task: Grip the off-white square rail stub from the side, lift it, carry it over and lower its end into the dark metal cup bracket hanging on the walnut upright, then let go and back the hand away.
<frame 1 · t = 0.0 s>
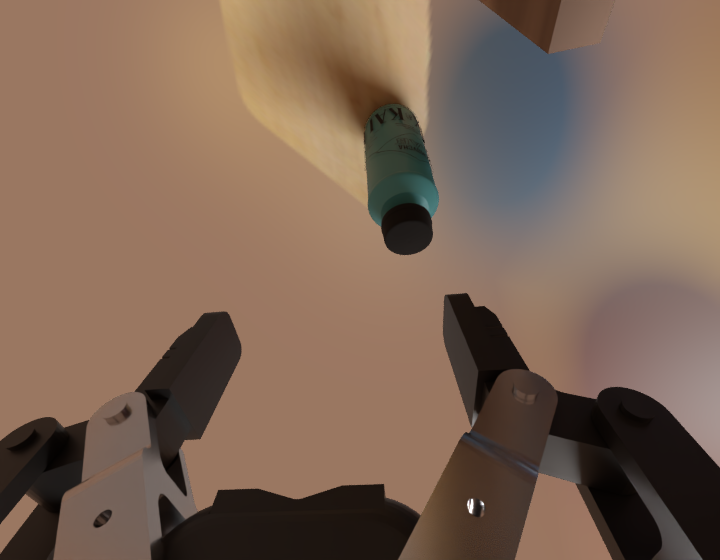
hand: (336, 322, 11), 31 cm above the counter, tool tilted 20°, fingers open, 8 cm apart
beverage bottle: (389, 123, 37), on the counter
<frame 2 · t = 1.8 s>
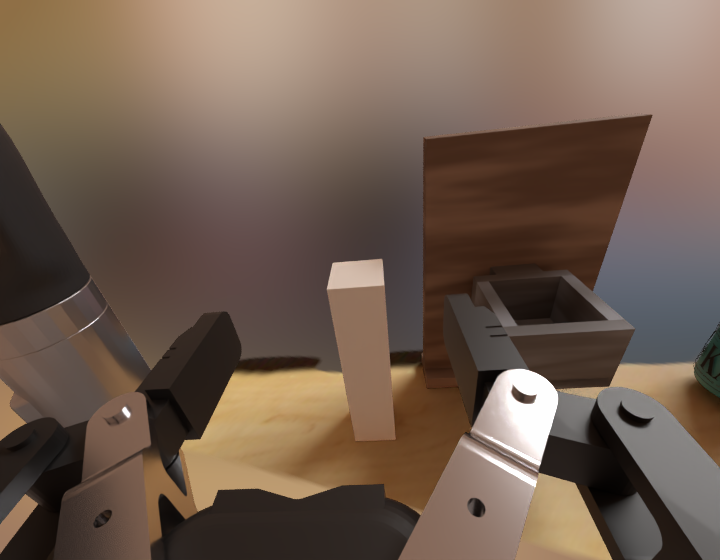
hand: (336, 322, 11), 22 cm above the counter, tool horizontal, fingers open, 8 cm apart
cup bracket: (513, 416, 31), on the counter
rail stub: (375, 422, 32), on the counter
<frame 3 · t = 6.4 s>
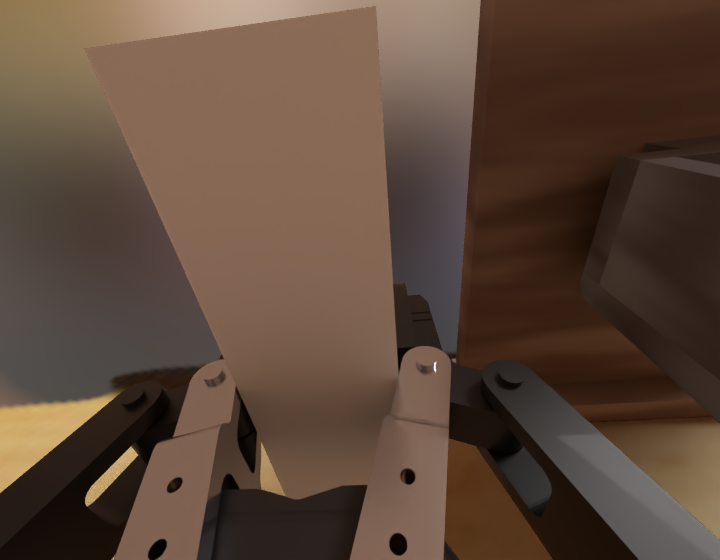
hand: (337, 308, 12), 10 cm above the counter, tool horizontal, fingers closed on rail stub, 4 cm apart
cup bracket: (672, 500, 14), on the counter
rail stub: (363, 510, 15), on the counter, touching gripper
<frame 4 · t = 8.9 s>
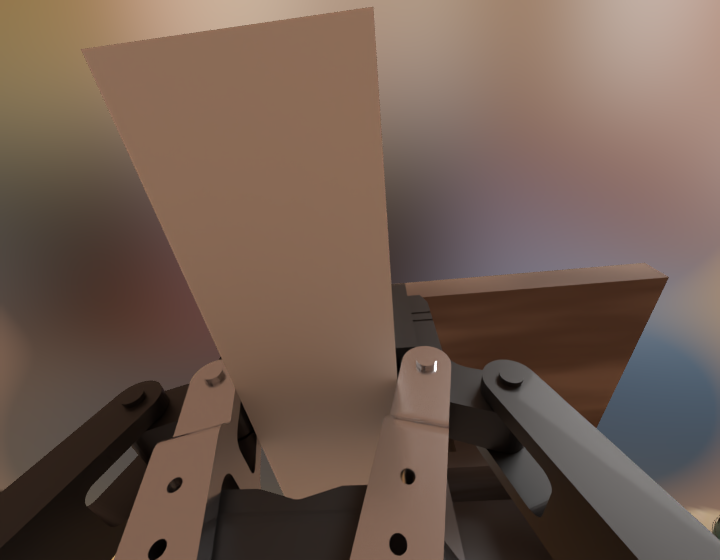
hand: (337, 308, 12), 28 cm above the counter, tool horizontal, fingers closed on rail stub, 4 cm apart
rail stub: (362, 510, 15), point 18 cm above the counter, touching gripper
when the fingers open (21 cm above the counter, at t = 11.4 s): rail stub drops 1 cm, resting on cup bracket.
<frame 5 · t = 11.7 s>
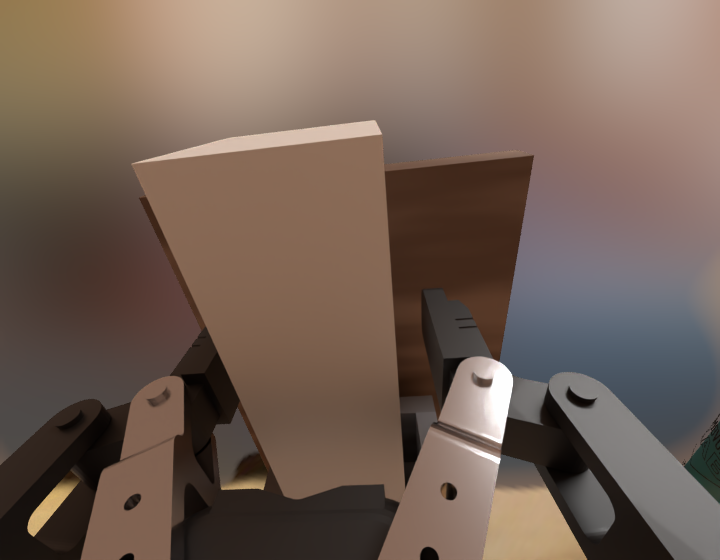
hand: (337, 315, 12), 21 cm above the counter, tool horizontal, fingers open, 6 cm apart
rail stub: (366, 525, 15), point 10 cm above the counter, touching cup bracket
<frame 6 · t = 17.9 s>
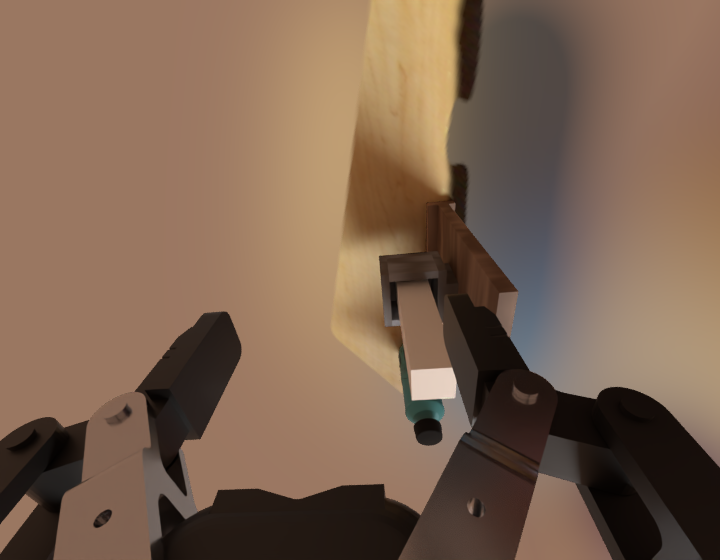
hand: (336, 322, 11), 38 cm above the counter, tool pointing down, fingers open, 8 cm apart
cup bracket: (402, 251, 52), on the counter
rail stub: (409, 282, 43), point 10 cm above the counter, touching cup bracket
beverage bottle: (412, 345, 62), on the counter
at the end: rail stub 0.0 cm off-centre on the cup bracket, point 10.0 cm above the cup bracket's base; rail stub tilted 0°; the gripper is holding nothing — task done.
